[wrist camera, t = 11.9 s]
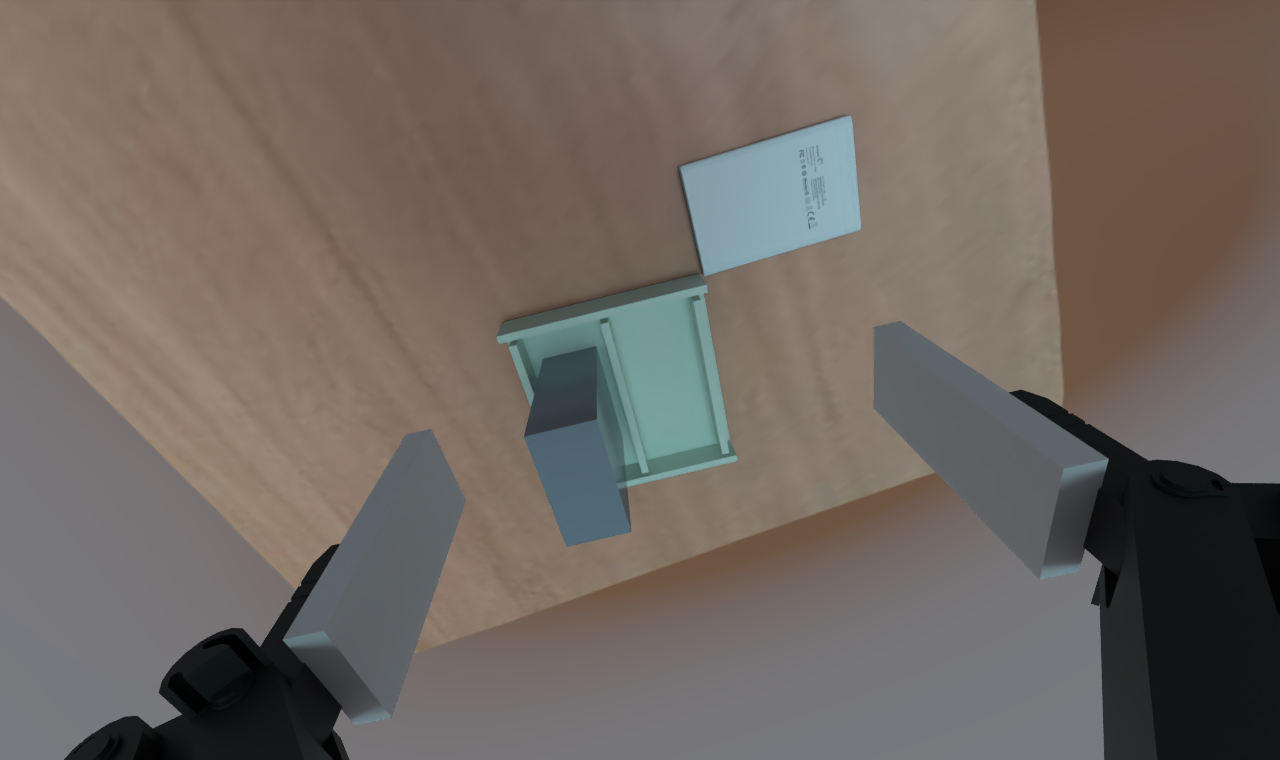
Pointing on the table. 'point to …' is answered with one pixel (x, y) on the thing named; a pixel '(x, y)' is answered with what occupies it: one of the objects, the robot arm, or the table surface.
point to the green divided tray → (642, 371)
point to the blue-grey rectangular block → (579, 447)
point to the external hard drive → (773, 195)
